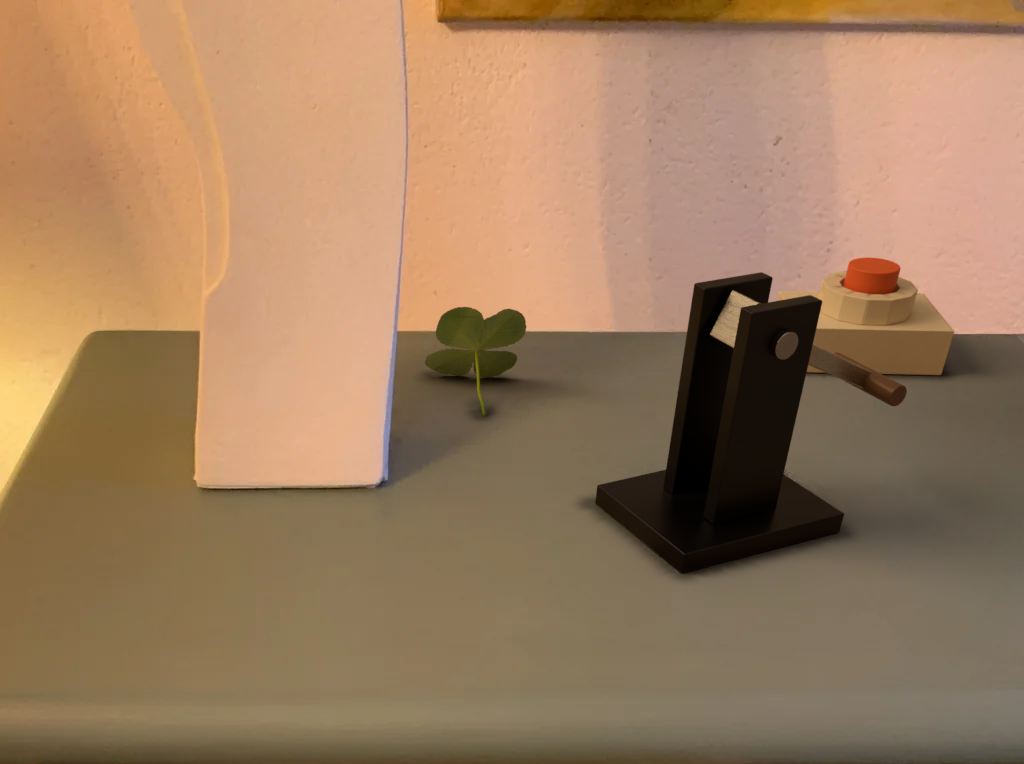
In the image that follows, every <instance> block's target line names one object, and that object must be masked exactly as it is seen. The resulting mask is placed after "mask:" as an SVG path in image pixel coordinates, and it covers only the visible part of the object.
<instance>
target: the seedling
mask: <svg viewBox="0 0 1024 764" xmlns="http://www.w3.org/2000/svg"><path fill="white" fill-rule="evenodd" d="M482 313H483V312H481V311H479V310H478V309H476V308H473V307H470V306H457V307H454V308H451V309H449V310H447V311H446V312H444V313H443V314H442V315H441V316H440V317H439V318H440V319H439V320H438V322H437V325H436V329H435V337H436V339H437V341H439V342H440V344H441V345H444V346H445V347H449V348H444V349H439V350H437V351H435V352H432V353H430V354H428V355H427V356H426V358H425V360H424V364H425V366H426V367H427V368H428V369H430V370H432V371H434V372H437V373H438V374H442V375H451V376H456V377H461V376H466V375H468V374H469V373H470V371H472V368H473V372H474V374H475V375H476V392H477V397H478V400H479V403H480V408H481V415H482V417H485V416H486V407H485V402H484V399H483V396H482V392H481V378H493V377H498V376H500V375H502V374H504V373H505V372H507V371H509V370H511V369H512V368H513V367H514V366H515V365H516V363H517V361H518V355H517V354H516V353H514V352H512V351H508V350H494V349H499V348H504V347H509V346H511V345H515V344H516V343H518V342H520V340H522V339H523V338H524V336H525V335H526V331H527V324H526V323H527V321H526V316H524V315H523V313H522V312H520V311H519V310H516V309H513V308H504V309H502V310H500V311H498V312H497V313H496V314H492V315H491V316H489V317H486V318H484V315H483V314H482ZM492 349H493V350H492Z"/></svg>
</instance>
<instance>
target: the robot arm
mask: <svg viewBox="0 0 1024 764" xmlns="http://www.w3.org/2000/svg"><path fill="white" fill-rule="evenodd" d="M1009 3H1010V4H1011V7H1012V8H1013V10H1015V11H1016V12H1019V13H1023V14H1024V0H1009Z"/></svg>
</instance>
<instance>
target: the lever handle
mask: <svg viewBox="0 0 1024 764" xmlns="http://www.w3.org/2000/svg"><path fill="white" fill-rule="evenodd" d="M757 304H762V303H760V302H758V301H755V300H753V299H751V298H749V297H747V296H745V295H743V294H741V293H739V292H737V291H734V290H732V292H731V294H730V296H729V298H728V300H727V301H726V303H725V305H724V307H723V309H722V311H721V313H720V315H719V317H718V319H717V321H716V323H715V325H714V327H713V329H712V331H711V333H710V336H712V337H714V338H716V339H718V340H719V341H721V342H723V343H725V344H727V345H728V346H730V347H732V348H734V344H735V338H736V333H737V327H738V322H739V316H740V311H741V308H742V307H746V306H751V305H757ZM808 365H810V366H812V367H815V368H817V369H819V370H821V371H824V372H826V373H825V374H828V375H831V376H833V377H835V378H837V379H840V380H841V381H843V382H845V383H847V384H849V385H850V386H853V387H855V388H856V389H858V390H860V391H862V392H863V393H866V394H867V395H869V396H871V397H874V398H875V399H877V400H879V401H880V402H883V403H885V404H887V405H888V406H891V407H897V406H899V405H901V404H902V403H903V402H904V400H905V398H906V396H907V392H908V389H907V387H906V386H905V385H904V384H902V383H900V382H898V381H896V380H894V379H892V378H890V377H888V376H886V375H885V374H880V373H878V372H876V371H874V370H872V369H870V368H868V367H866V366H865V365H863V364H861V363H859V362H857V361H855V360H853V359H851V358H849V357H847V356H845V355H843V354H841V353H839V352H836V353H832V352H830V351H827V350H825V349H823V348H821V347H819V346H817V345H814V344H813V346H812V350H811V355H810V359H809V364H808Z"/></svg>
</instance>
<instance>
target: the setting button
mask: <svg viewBox="0 0 1024 764" xmlns="http://www.w3.org/2000/svg"><path fill="white" fill-rule="evenodd" d="M846 271H847V273H846V277H845V281H844V285H843V287H845V288H847V289H849V290H852V291H855V292H860V293H865V294H883V295H885V294H890V293H894V292H895V288H896V284H897V280H898V277H900V272H901V266H900V264H898V262H897V263H896V262H894V261H892V260H889V259H884V258H880V257H857V258H853V259H851V260H849V262H848V264H847V268H846Z"/></svg>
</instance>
